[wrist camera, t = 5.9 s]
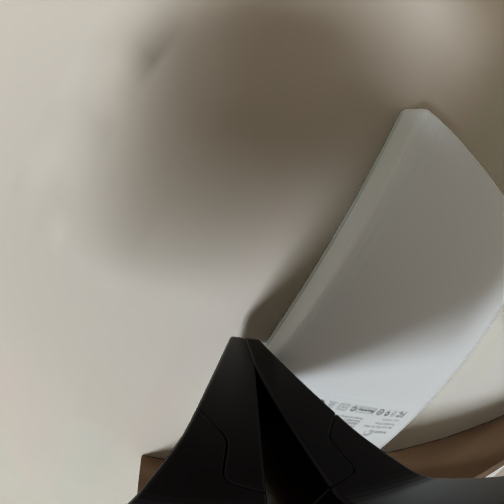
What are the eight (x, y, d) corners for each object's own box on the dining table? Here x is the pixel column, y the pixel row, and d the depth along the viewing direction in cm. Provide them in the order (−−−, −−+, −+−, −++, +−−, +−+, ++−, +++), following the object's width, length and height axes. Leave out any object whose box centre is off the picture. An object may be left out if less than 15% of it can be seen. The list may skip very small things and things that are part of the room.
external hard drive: (511, 235, 9) (356, 443, 13) (393, 108, 7) (203, 420, 10) (537, 248, 8) (366, 467, 11) (429, 106, 6) (204, 454, 9)
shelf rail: (508, 422, 17) (528, 447, 13) (142, 473, 11) (137, 541, 7) (520, 407, 16) (541, 432, 13) (141, 455, 10) (134, 532, 7)
